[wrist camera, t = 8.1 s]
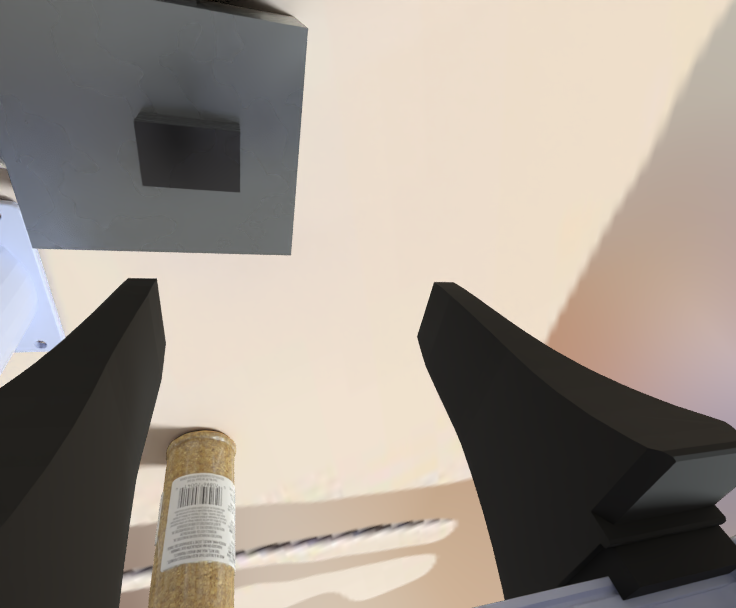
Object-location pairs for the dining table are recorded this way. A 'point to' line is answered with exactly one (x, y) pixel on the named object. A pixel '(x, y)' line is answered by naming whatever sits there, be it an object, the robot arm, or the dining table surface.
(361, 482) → the dining table surface
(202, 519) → the sprinkles bottle
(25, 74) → the drawer
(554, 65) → the dining table surface
